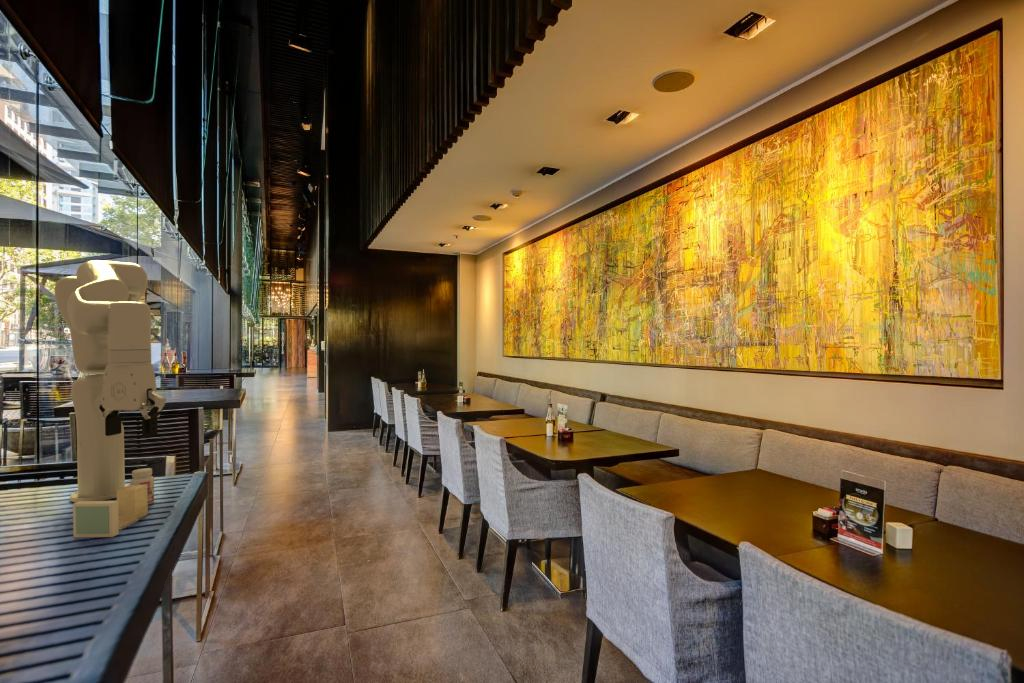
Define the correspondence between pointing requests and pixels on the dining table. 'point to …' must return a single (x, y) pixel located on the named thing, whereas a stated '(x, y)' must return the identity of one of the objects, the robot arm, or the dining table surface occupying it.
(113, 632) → the dining table surface
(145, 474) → the pill bottle
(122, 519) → the beige boxy piece
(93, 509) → the block
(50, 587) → the dining table surface
